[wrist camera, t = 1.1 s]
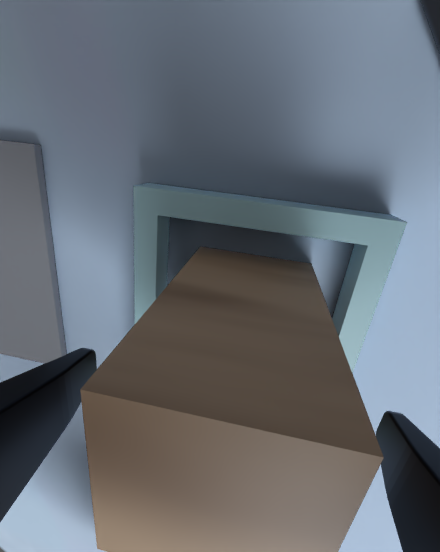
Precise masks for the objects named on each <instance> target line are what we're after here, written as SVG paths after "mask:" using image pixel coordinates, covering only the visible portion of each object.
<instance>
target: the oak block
mask: <svg viewBox="0 0 440 552" xmlns="http://www.w3.org/2000/svg"><path fill="white" fill-rule="evenodd" d="M80 392H81V401H82V410H83V420H84V429H85V438H86V448H87V457H88V466H89V476H90V485H91V494H92V504H93V513H94V522H95V531H96V541H97V549H100V550H104V551H107V552H338V550H339V548H340V546H341V544H342V542H343V540H344V538H345V536H346V534H347V532H348V530H349V528H350V526H351V524H352V522H353V520H354V518H355V516H356V514H357V511H358V509H359V507H360V505H361V503H362V501H363V499H364V497H365V495H366V493H367V491H368V489H369V487H370V485H371V483H372V481H373V479H374V477H375V474H376V472H377V470H378V468H379V466H380V464H381V462H382V460H383V458H384V457H383V454H382V452H381V449H380V446H379V444H378V441H377V438H376V436H375V433H374V430H373V427H372V425H371V422H370V419H369V417H368V414H367V411H366V409H365V406H364V403H363V401H362V398H361V395H360V393H359V390H358V387H357V385H356V382H355V379H354V377H353V374H352V371H351V369H350V366H349V363H348V360H347V358H346V355H345V352H344V350H343V347H342V344H341V342H340V339H339V336H338V334H337V331H336V328H335V326H334V323H333V320H332V318H331V315H330V312H329V310H328V307H327V304H326V301H325V299H324V296H323V293H322V291H321V288H320V285H319V283H318V280H317V277H316V275H315V272H314V269H313V267H312V264H311V263H304V262H298V261H291V260H285V259H278V258H272V257H265V256H259V255H253V254H246V253H240V252H233V251H227V250H220V249H214V248H207V247H201V246H200V248H199V249H198V250H197V251H196V252H195V253H194V255H193V256H192V257H191V258H190V259H189V261H188V262H187V263H186V264H185V265H184V267H183V268H182V269H181V270H180V271H179V273H178V274H177V275H176V276H175V277H174V278H173V280H172V281H171V282H170V283H169V284H168V286H167V287H166V288H165V289H164V290H163V292H162V293H161V294H160V295H159V296H158V298H157V299H156V300H155V301H154V302H153V303H152V305H151V306H150V307H149V308H148V309H147V311H146V312H145V313H144V314H143V315H142V317H141V318H140V319H139V320H138V321H137V323H136V324H135V325H134V326H133V327H132V328H131V330H130V331H129V332H128V333H127V334H126V336H125V337H124V338H123V339H122V340H121V342H120V343H119V344H118V345H117V346H116V348H115V349H114V350H113V351H112V352H111V353H110V355H109V356H108V357H107V358H106V359H105V361H104V362H103V363H102V364H101V365H100V367H99V368H98V369H97V370H96V371H95V373H94V374H93V375H92V376H91V377H90V378H89V380H88V381H87V382H86V383H85V384H84V386H83V387H82V388H81V389H80Z"/></svg>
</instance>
